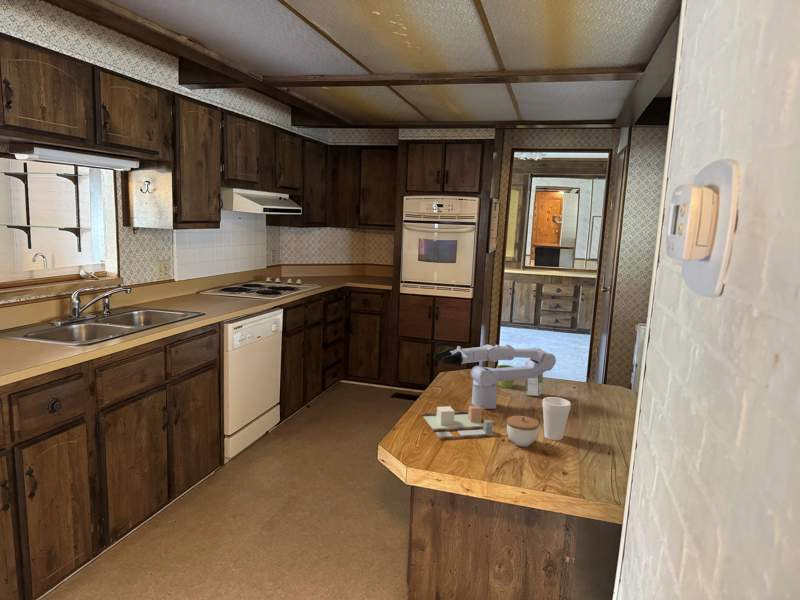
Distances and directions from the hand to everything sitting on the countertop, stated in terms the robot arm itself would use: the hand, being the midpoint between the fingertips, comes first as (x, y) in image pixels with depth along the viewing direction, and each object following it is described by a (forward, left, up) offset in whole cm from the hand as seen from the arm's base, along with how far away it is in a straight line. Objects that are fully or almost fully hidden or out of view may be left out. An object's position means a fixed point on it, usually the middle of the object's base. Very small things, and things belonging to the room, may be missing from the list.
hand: (438, 358), depth 214 cm
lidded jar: (-20, +34, -21) cm, 45 cm away
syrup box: (-49, -11, -20) cm, 54 cm away
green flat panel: (-2, +15, -21) cm, 26 cm away
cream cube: (+1, +15, -20) cm, 25 cm away
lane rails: (-2, +19, -21) cm, 28 cm away
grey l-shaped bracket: (-6, +26, -20) cm, 34 cm away
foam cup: (-34, +31, -21) cm, 50 cm away
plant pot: (-42, -25, -21) cm, 53 cm away
